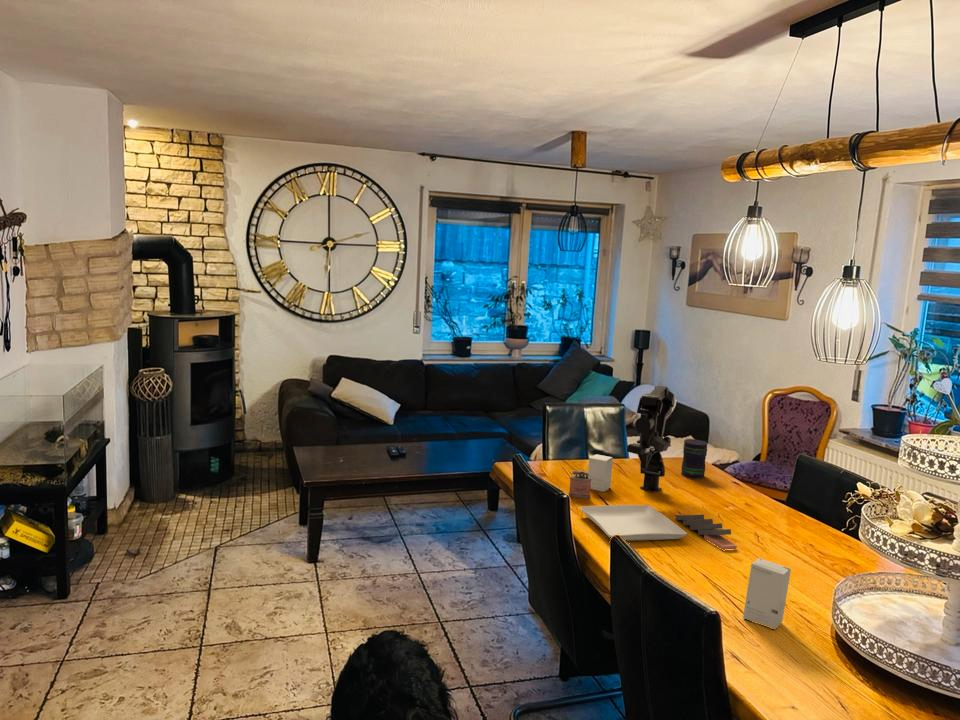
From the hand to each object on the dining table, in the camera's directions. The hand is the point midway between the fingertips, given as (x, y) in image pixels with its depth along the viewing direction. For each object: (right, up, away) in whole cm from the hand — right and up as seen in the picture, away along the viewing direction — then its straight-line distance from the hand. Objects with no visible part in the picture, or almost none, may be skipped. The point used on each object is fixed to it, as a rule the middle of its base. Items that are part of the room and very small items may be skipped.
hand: (644, 468), depth 267 cm
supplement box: (-15, -10, +12) cm, 22 cm away
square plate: (-12, -16, -30) cm, 36 cm away
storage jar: (+30, -9, +38) cm, 49 cm away
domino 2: (+10, -15, -24) cm, 30 cm away
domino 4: (+12, -16, -32) cm, 38 cm away
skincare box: (+9, -25, -90) cm, 94 cm away
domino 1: (+9, -14, -19) cm, 25 cm away
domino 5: (+13, -17, -36) cm, 42 cm away
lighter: (-25, -11, 0) cm, 27 cm away
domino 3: (+11, -16, -28) cm, 34 cm away
